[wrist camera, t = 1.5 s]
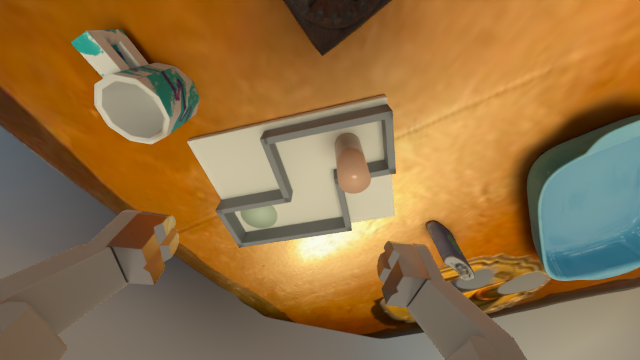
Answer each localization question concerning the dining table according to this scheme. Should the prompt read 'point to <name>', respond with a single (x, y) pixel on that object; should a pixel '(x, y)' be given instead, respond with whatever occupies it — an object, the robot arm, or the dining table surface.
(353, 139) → the peg
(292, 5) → the coffee grinder
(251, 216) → the pad
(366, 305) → the dining table surface
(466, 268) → the flask
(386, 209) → the channel
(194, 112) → the mug
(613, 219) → the casserole dish
